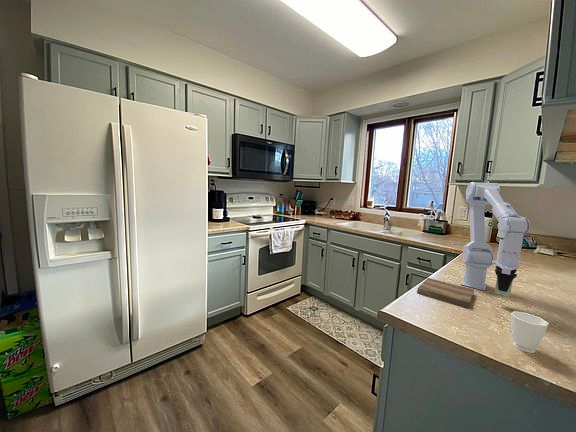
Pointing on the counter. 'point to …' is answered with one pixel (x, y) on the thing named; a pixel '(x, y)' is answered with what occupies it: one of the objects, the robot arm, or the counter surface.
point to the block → (503, 291)
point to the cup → (527, 331)
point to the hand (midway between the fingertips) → (502, 289)
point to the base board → (446, 292)
